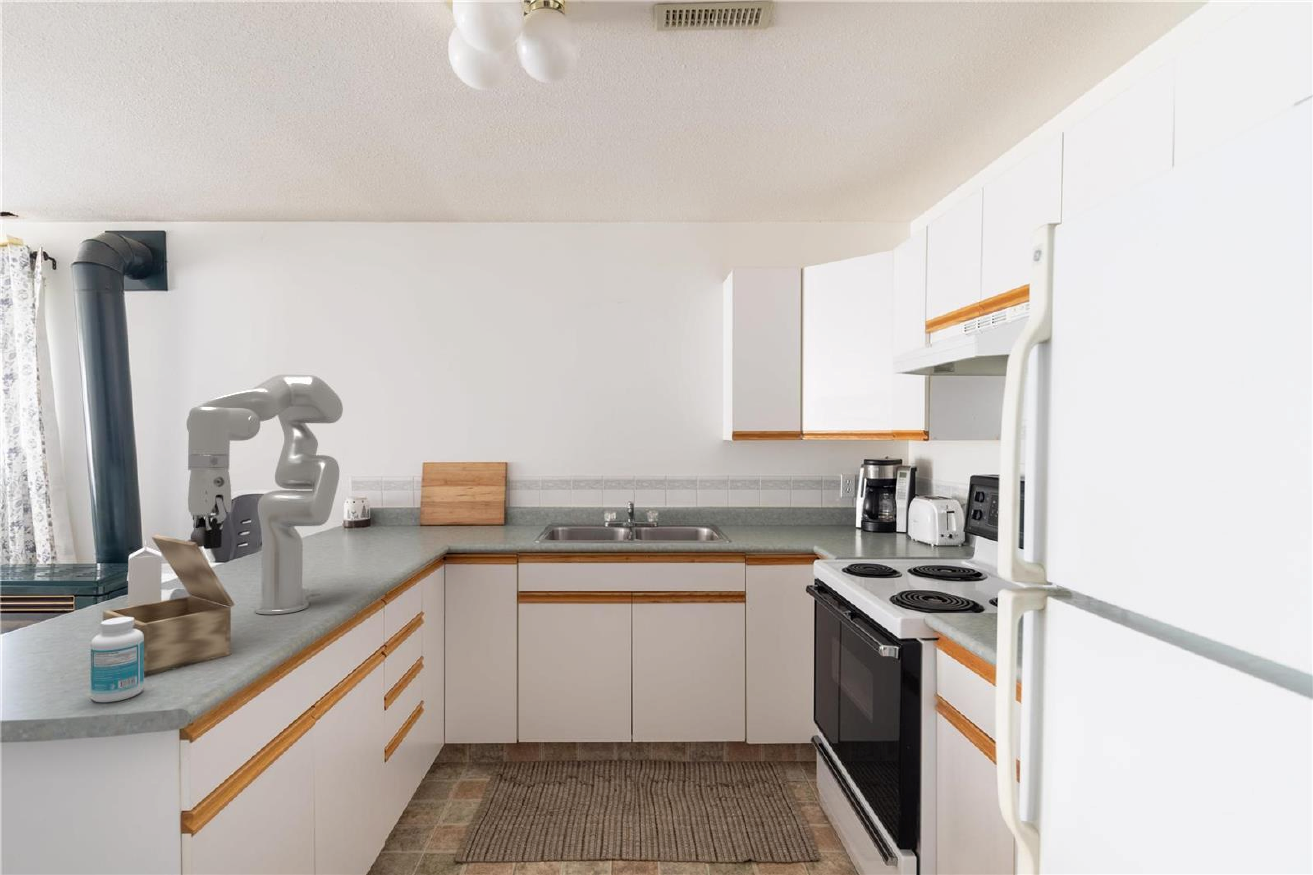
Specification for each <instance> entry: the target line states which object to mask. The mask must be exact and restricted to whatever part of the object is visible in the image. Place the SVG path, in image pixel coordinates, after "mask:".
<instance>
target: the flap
mask: <svg viewBox="0 0 1313 875" xmlns="http://www.w3.org/2000/svg"><path fill="white" fill-rule="evenodd" d="M204 530H207V529H206V527H199V528H195V530H194V529H193V530H192V532H191V534H190V539H188V540H185V539H184V540H183V539H180V538H179V539H178V538H174V537H169V536H164V535H158V534H155V535H153V536H151V539H152V541H153V542H154V543H155V545H156V547H157V548H158V550H159V552H161V553H162V556H163V557H164V558H165V560H166V561H167V563H168V565H169V566H170V567H171V569H172V570H173V571H174V573H175V576H176V577H177V578H178V579H179V581H180V582H181V585H183V587H184V589H186V590H187V591H188V593H189V594H190V596H194V597H197V598H201V599H203V600H206V601H210V602H213V603H217V604H220V605H224V606H227V607H231V608H232V607H234V606H235V603H234V601H233V600H232V598H231V596H230V595H229V593H228V591H226V589H225V587H224V586H223V584H222V583H221V581H220V579H219V578H218V576H217V575H216V573H215V572H214V570H213V568H212V566H211V565H210V563H209V562H208V560H207V558H205V556H204V554H203V552H202V550H201V549H200V548H201V547H198V545H199V546H202V547H204V546H203V545H204Z"/></svg>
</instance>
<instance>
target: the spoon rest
mask: <svg viewBox="0 0 1313 875" xmlns="http://www.w3.org/2000/svg"><path fill="white" fill-rule="evenodd" d="M187 596H190V594H189V593H188V591H187V590H186V588H182V587H175V588H172V589H165V588H163V589H162V588H161V601H165V600H170V599H176V598H182V597H187ZM192 597H194V596H192ZM196 598H197V597H196ZM199 599H201V598H199Z"/></svg>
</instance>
